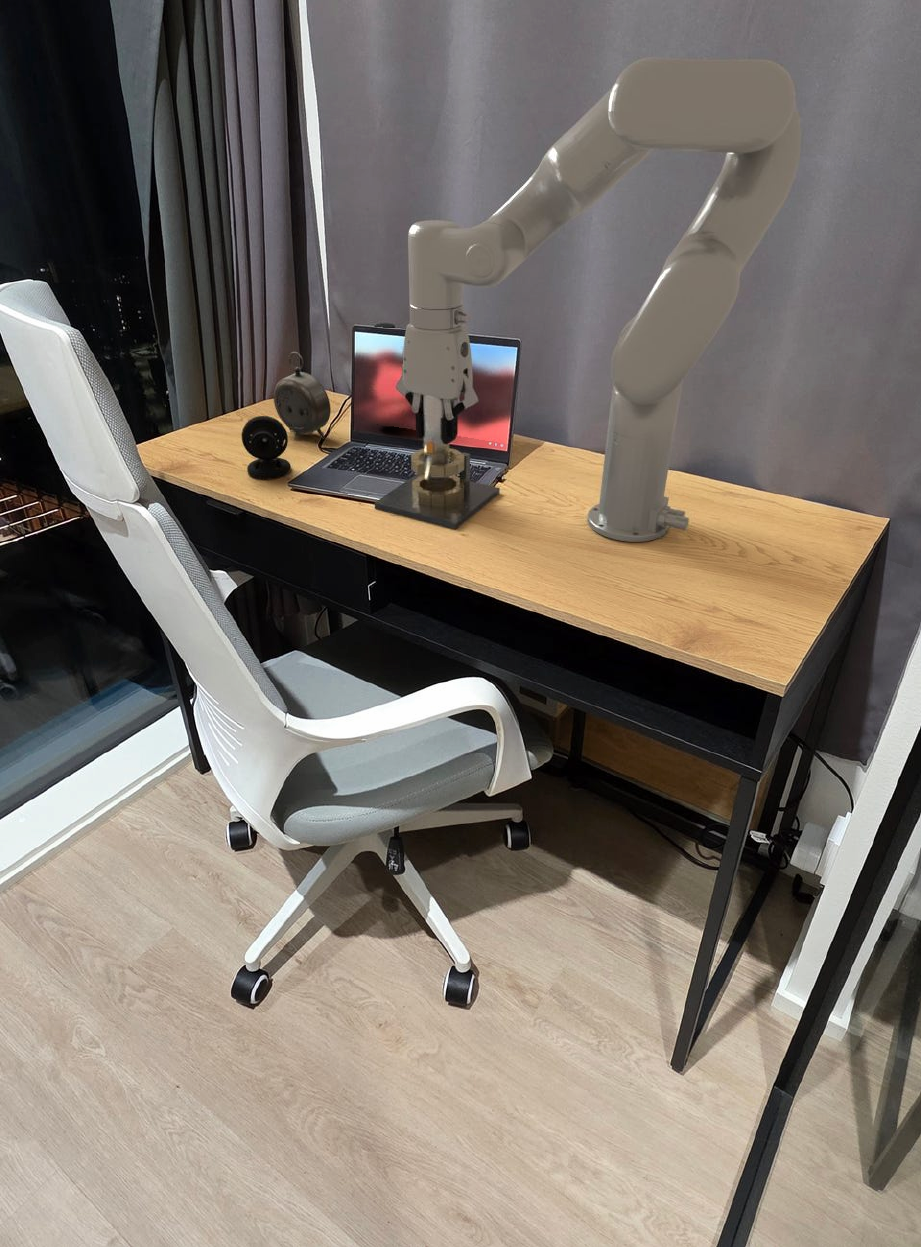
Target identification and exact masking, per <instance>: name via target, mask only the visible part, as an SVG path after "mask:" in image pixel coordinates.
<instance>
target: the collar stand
mask: <svg viewBox="0 0 921 1247" xmlns="http://www.w3.org/2000/svg"><path fill="white" fill-rule="evenodd" d="M410 458H411V459H410V462H411V463H410V464H411V466H410V467H411V470H412V471H413V472H414V473H415V475H413V476H412V477H411V478H409V479H407V480H406V481H405V482H403V483H402V484H400V485H398V486H397V487H396V488H394V489H393V490H391V491H389V492H388V493H387V494H385V495H384V496H383V497H381V498H379V499H378V500H376V501H375V502H374V509H376V510H381V511H384V512H387V513H391V514H394V515H398V516H403V517H407V518H410V519H414V520H418V521H421V522H425V523H429V524H434V525H435V526H436V525H437V526H440V527H443V528H447V529H451V530H455V531H456V530H457V529H459V527H461V526H462V525H463V524H464V523H465V522H467V521H468V520H469V519H470V518H472V517H473V516H474V515H475V514H477V513H478V512H479V511H480V510H481V509H483V508H484V507H486V505H487V504H489V503H490V502H491V501H492V500H493V499H495V498H496V497H497V496H499V494H500V492H501V491H500V487H497V486H492V485H488V484H484V483H480V482H476V481H471V453H467V452H461V451H459V450H457V449H455V448H450V447H449V463H448V464H444V465H431V477H449V479H448V480H447V481H445V482H440V483H433V482H429V481H427V480H425V478H424V473H425V466H424V448H421V449H418V450H417V451H414V452H413V453H412V454H411V457H410ZM457 475H459V476H457Z"/></svg>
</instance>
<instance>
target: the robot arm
mask: <svg viewBox="0 0 921 1247" xmlns="http://www.w3.org/2000/svg"><path fill="white" fill-rule="evenodd" d="M793 81H794V80H793V79H792V76H791V75H790V73H789V72H788V71H787V70H786V69H785V68H784V67H783V66H782V65H781V64H779V63H777V62H775V61H774V60H770V59H762V58H761V59H760V58H758V59H754V58H753V59H752V58H751V59H749V58H748V59H746V58H745V59H737V58H736V59H709V58H708V59H705V58H704V59H697V58H696V59H690V58H672V57H671V58H670V57H659V56H658V57H657V56H648V57H644V58H641V59H638V60H636V61H634V62H632V63H631V64H629V65H627V67H626V68H625V69H623V70H622V72H621V73H620V74H619V75H618V77H617V78H616V81H615V83H614V84H613V86H612V87H611V88H610V89H609V90H608V91H607V92H606V93H605V94H604V95H603V96H602V97H601V98H600V99H599V100H598V101H597V102H596V103H595V104H594V106H592V107H591V108H590V109H589V110H588V111H587V112H586V113H585V114H584V115H583V116H581V118H580V119H579V120H578V121H576V123H575V124H574V125H572V127H570V128H569V129H568V130H567V131H566V132H565V133H564V134H563V135H562V136H561V137H560V138H558V140H556V142H554V144H552V145H551V147H550V148H549V149H548V150H547V152H546V153H545V155H544V156H543V157H542V160H541V161H540V164H539V165H538V167H537V168H536V170H535V171H534V173H533V174H532V175H531V176H530V177H529V179H528V180H527V181H526V182H525V183H524V184H523V185H522V186H521V187H520V188H519V189H518V190H517V191H516V192H515V193H514V194H513V195H512V196H511V197H510V198H509V199H508V200H507V201H506V202H505V203H503V205H501V207H500V208H498V210H496V212H494V213H493V214H492V215H491V216H490V217H489V218H487V219H486V220H485V221H483V222H481V223H480V224H478V225H474V226H472V227H466V228H462V227H460V225H459V224H458V223H455V222H453V221H447V220H440V219H439V220H437V219H435V220H432V219H430V220H422V221H416V222H414V223H413V224H412V225H411V226H410V228H409V229H408V234H407V247H408V285H409V286H408V289H409V290H408V291H409V292H408V294H409V323H408V324H407V325H406V328H405V334H404V339H403V348H402V350H403V351H402V358H403V364H402V376H401V378H400V380H399V381H398V383H397V385H396V389H397V390H398V391H399V392H400V393H401V394H402V395H403V396H405V400H406V401H407V402H408V403H409V405H410V406H411V410H412V412H413V413H414V414H415V430H416V438H417V439H424V419H423V395H430V396H433V397H436V398H440V399H443V402H444V409H445V415H446V418H445V419H443V421H442V442H443V444H449V445H450V443H452V442H454V441H455V440H456V439H457V437H458V431H459V430H458V429H459V427H458V423H459V422H458V420H459V416H460V415H461V414H462V413H463V412H464V411H465V410H466V409H468V408H470V407H471V406H474V405H475V404H477V403H478V402H479V398H478V395H477V394H476V392H475V391H476V390H475V389H474V387H473V361H472V360H473V359H472V358H473V357H472V349H471V341H470V336H469V332H468V328H467V327H466V326H463V324H468V323H469V321H470V317H471V316H470V313H468V312H465V311H464V305H463V285H468V286H471V287H476V288H492V287H495V286H496V285H499V284H500V283H501V282H502V281H504V280H505V279H506V278H508V276H509V275H510V274H511V273H512V272H513V271H515V270H516V269H517V268H518V267H519V266H520V265H521V264H523V262H525V260H526V259H528V258H529V257H530V256H531V255H532V254H534V252H535V251H536V250H538V249H539V248H540V247H541V246H542V245H543V244H544V243H545V242H547V241H548V240H549V239H550V238H551V237H552V236H553V235H554V234H556V233H557V232H558V231H559V230H561V228H563V227H564V226H565V225H566V224H568V222H570V221H571V220H573V219H574V218H576V217H579V215H581V214H583V213H585V212H586V211H587V210H589V208H590V207H592V206H593V205H594V204H595V203H596V202H598V200H600V199H601V198H602V197H603V196H604V195H605V194H606V193H607V192H608V191H610V190H611V189H612V188H613V187H614V186H615V185H616V184H618V183H619V181H621V180H622V179H623V178H624V177H625V176H626V175H627V174H629V173H630V172H631V171H632V170H633V169H634V168H635V167H637V166H638V165H639V164H640V163H641V162H642V161H643V160H644V159H645V158H646V157H648V156H649V155H650V154H651V153H652V152H653V151H656V150H659V151H671V152H693V153H695V152H699V153H700V152H702V153H724V154H726V155H725V159H724V163H723V165H722V168H721V170H720V173H719V175H718V176H717V179H716V180H715V182H714V184H713V186H711V189H710V191H709V192H708V194H707V196H706V198H705V200H704V202H703V203H702V205H701V207H700V209H699V211H698V212H697V214H696V216H694V218H693V220H692V222H691V223H690V225H689V227H688V228H687V230H686V231H685V233H684V234H683V236H682V237H681V239H680V240H679V242H678V244H676V246H675V247H674V248H673V250H672V251H671V252H670V253H669V254H668V256H667V258H666V260H665V262H664V264H663V267H662V270H661V272H660V274H659V276H658V278H657V280H656V281H655V283H654V285H653V286H652V288H651V290H650V291H649V294H648V295H647V297H646V299H645V300H644V301H643V304H642V305H641V306H640V308H639V310H638V312H637V313H636V315H635V316H633V318H631V319H630V320H629V321H628V322H627V323H626V324H625V326H623V329H622V330H621V331H620V334H619V336H618V339H617V342H616V344H615V347H614V349H613V352H612V356H611V361H610V375H611V376H610V377H611V380H612V383H613V385H612V392H611V399H610V408H609V415H608V416H609V418H608V425H607V432H606V433H607V434H606V443H605V451H604V459H603V466H602V467H603V469H602V478H601V485H600V493H599V494H600V496H599V503H597V504H595V505H594V506H592V507H591V508H590V509H589V510H588V513H587V521H586V522H587V523H588V526H589V527H590V528H591V529H592V530H593V531H594V532H596V533H597V534H598V535H599V534H600V535H601V536H603V537H606V538H608V539H610V540H611V539H612V540H616V541H619V542H620V541H621V542H629V543H640V542H642V543H643V542H649V541H653V540H657V539H660V538H662V537H663V536H665V535H666V534H667V533H668V532H669V529H670V527H671V528H674V529H678V530H682V531H686V530H687V528H688V526H689V521H690V518H689V517H687V516H686V511H684V510H681V509H674V508H671V506H669V499H670V498H669V497H668V496H665V492H666V486H667V478H668V473H669V469H670V468H669V466H670V461H671V455H672V449H673V442H674V437H675V432H676V426H677V420H678V414H679V413H678V412H679V408H680V402H681V394H682V389H683V388H682V387H683V384H684V383H683V382H684V380H685V379H686V378H687V376H688V375H689V374H690V372H691V371H692V369H693V368H694V366H695V365H696V363H697V362H698V360H699V359H700V357H701V356H702V354H703V353H704V351H705V350H706V348H707V347H708V345H709V344H710V342H711V341H712V340H713V339H714V337H715V335H716V334H717V332H718V331H719V330H720V328H721V326H722V325H723V323H724V322H725V320H726V319H727V317H728V315H729V314H730V312H731V310H732V308H733V306H734V304H735V302H736V299H737V296H738V294H739V289H740V280H741V279H740V277H741V274H742V271H743V269H744V268H745V266H746V265H747V263H748V261H749V260H750V258H751V256H753V255H752V254H754V252H755V250H756V249H757V247H758V245H760V243H761V241H762V239H763V237H764V236H765V234H766V233H767V231H768V229H769V228H770V226H771V224H772V223H773V221H774V219H775V218H776V216H777V215H778V213H779V212H780V210H781V208H782V206H783V205H784V202H785V201H786V198H787V196H788V195H789V193H790V190H791V188H792V186H793V183H794V180H795V177H796V174H797V172H798V168H799V162H800V158H801V157H800V156H801V146H802V145H801V144H802V142H801V141H802V127H801V119H800V115H799V111H798V107H797V105H796V101H797V100H796V88H795V84H794V82H793ZM461 394H462V395H463V396H464V399H463V400H462V401H461V400H460V397H461Z"/></svg>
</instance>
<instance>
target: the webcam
mask: <svg viewBox="0 0 921 1247" xmlns="http://www.w3.org/2000/svg"><path fill="white" fill-rule="evenodd" d="M241 442H242V445H243V448H244V449H245V450H246V452H247V453H248V454H249V455H251V456H252V457H253V458H255V460H252V461H251V462H250V463H249V464H247V470H246V471H247V473H248V475H249V476H250V477H253V478H255V479H259V480H274V479H275V480H276V479H278V478H282V477H283V476H285V475H287V474H289V473H290V471H291V470H292V466H291V463H290V462H289V460H287V459H285V458H281V455H283V453H284V452H285V451H286V449H287V446H288V442H289V437H288V432H287V430H286V428H285V427H284V425H283V424H282V422H280V420H278V419H277V418H274V417H271V416H268V415H259V416H255V417H253V418H251V419H249V420H248V421H246V423H245V425H244V426H243V427H242V432H241ZM278 466H279V468H278Z"/></svg>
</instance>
